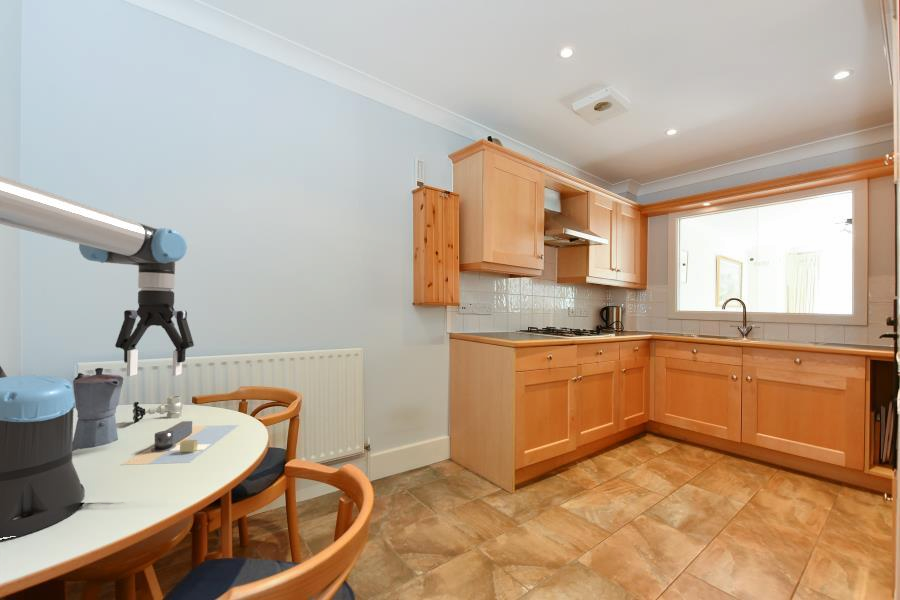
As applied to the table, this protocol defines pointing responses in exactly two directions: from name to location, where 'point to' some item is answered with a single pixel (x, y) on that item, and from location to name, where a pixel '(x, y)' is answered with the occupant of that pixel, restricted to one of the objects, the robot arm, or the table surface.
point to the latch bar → (172, 435)
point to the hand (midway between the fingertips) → (154, 375)
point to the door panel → (202, 434)
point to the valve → (160, 409)
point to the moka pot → (96, 409)
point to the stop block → (188, 446)
